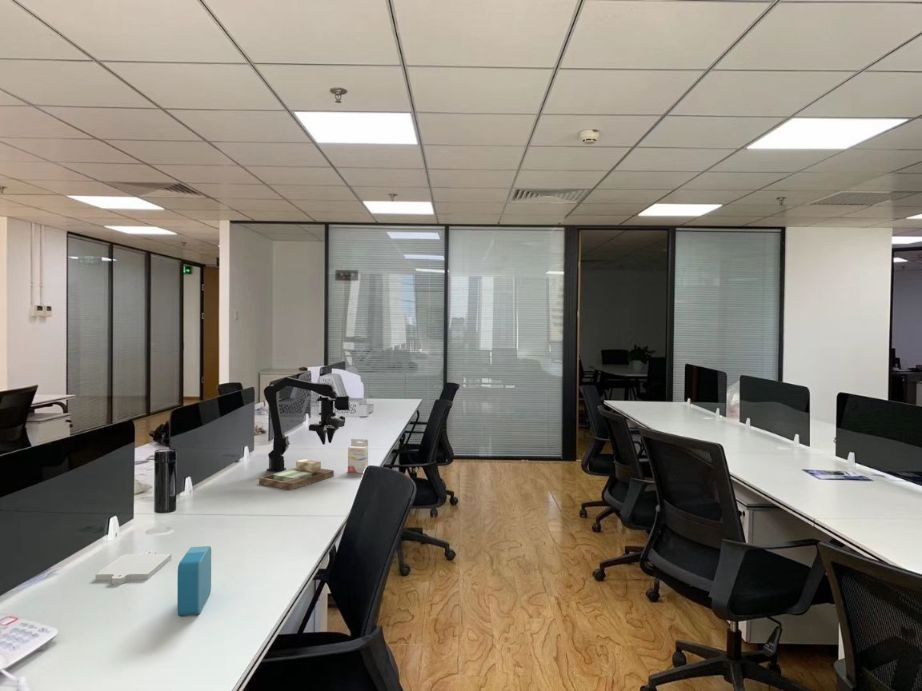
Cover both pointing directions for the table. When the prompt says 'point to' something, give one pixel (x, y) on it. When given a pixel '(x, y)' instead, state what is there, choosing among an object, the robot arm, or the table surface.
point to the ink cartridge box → (357, 456)
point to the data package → (194, 580)
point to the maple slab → (308, 465)
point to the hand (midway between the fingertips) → (326, 443)
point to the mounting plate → (134, 567)
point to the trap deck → (295, 478)
